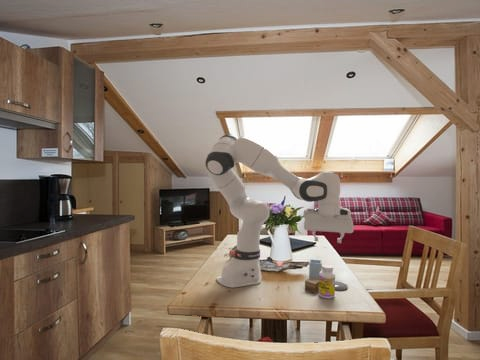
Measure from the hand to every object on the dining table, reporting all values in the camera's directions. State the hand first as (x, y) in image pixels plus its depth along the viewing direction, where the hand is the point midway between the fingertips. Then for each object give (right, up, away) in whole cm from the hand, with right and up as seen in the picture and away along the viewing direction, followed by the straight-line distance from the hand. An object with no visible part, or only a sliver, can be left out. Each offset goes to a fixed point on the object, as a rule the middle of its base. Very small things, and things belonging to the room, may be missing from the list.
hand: (327, 241), depth 129 cm
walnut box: (-5, -23, +7) cm, 24 cm away
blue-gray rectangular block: (-1, -23, +16) cm, 28 cm away
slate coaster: (+7, -23, +11) cm, 26 cm away
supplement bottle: (0, -23, 0) cm, 23 cm away
